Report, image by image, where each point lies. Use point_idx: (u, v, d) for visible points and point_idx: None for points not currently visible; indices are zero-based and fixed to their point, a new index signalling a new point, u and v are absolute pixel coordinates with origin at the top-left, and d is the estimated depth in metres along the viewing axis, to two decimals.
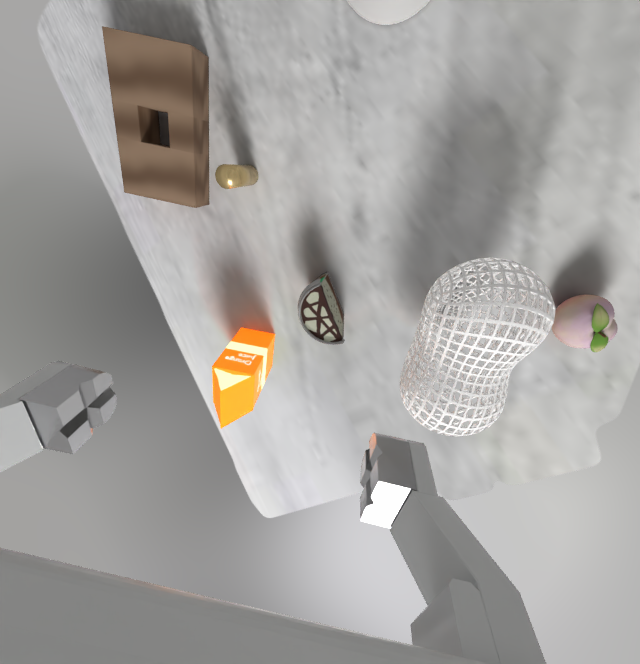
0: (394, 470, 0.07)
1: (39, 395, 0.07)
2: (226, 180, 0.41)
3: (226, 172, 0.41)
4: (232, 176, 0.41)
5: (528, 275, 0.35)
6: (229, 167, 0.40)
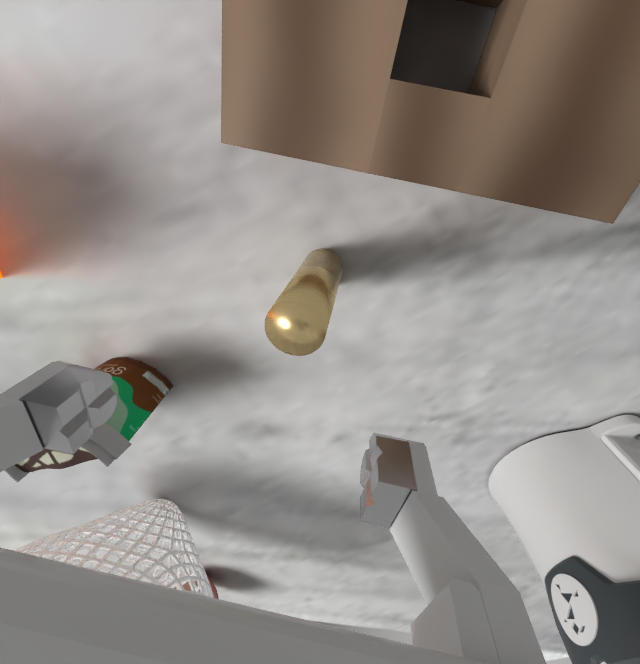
0: (394, 470, 0.07)
1: (39, 395, 0.07)
2: (285, 329, 0.14)
3: (305, 333, 0.14)
4: (297, 346, 0.15)
5: None
6: (318, 343, 0.14)
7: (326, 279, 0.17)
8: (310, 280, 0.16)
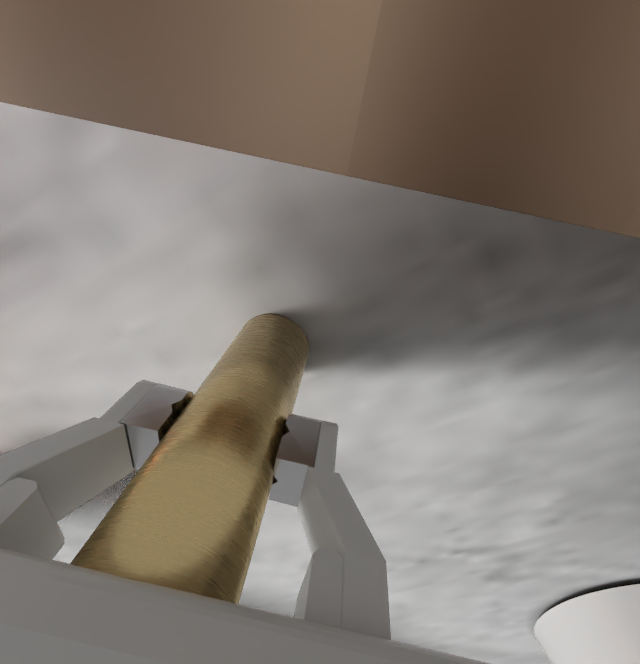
0: (296, 448, 0.07)
1: (137, 417, 0.07)
2: None
3: None
4: None
5: None
6: None
7: (249, 434, 0.07)
8: (190, 472, 0.06)
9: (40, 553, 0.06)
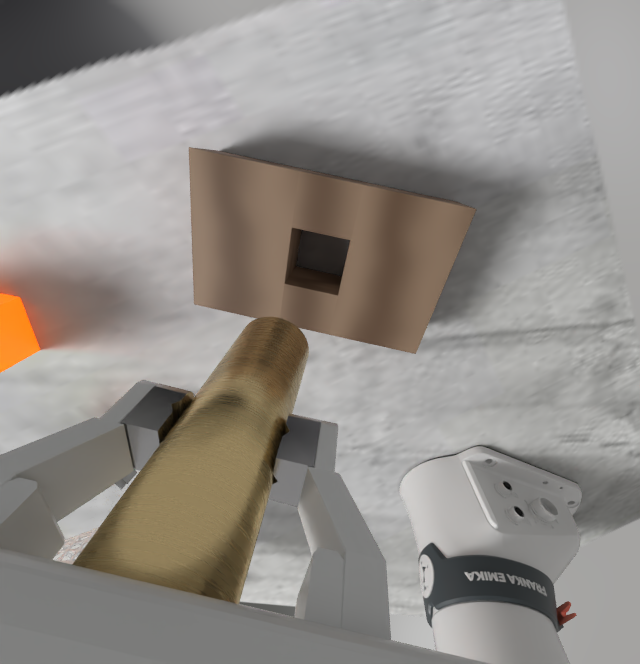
0: (296, 448, 0.07)
1: (137, 417, 0.07)
2: None
3: None
4: None
5: None
6: None
7: (250, 436, 0.07)
8: (191, 474, 0.06)
9: (40, 553, 0.06)
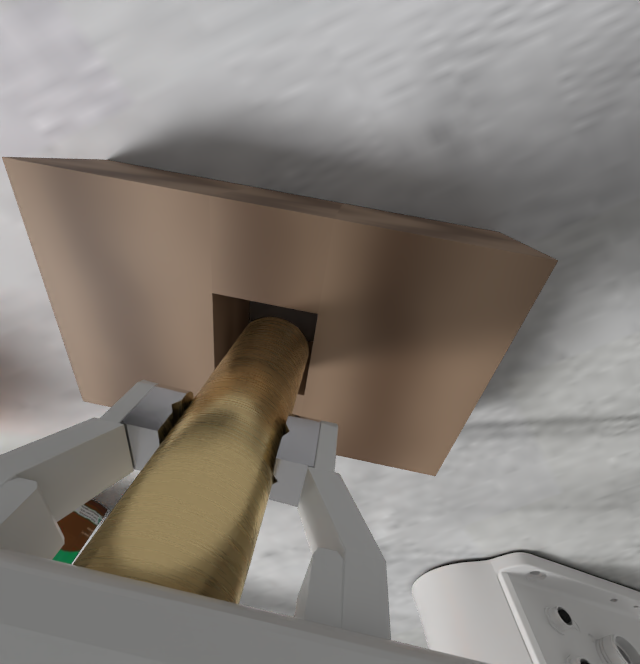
0: (296, 448, 0.07)
1: (137, 417, 0.07)
2: None
3: None
4: None
5: None
6: None
7: (250, 436, 0.07)
8: (192, 473, 0.06)
9: (40, 552, 0.06)
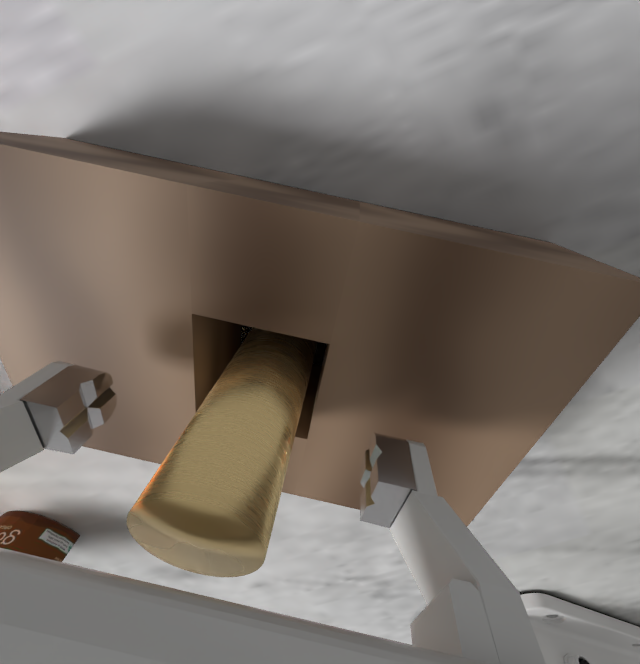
0: (394, 470, 0.07)
1: (39, 395, 0.07)
2: (176, 539, 0.06)
3: (221, 549, 0.06)
4: (208, 565, 0.07)
5: None
6: (251, 565, 0.06)
7: (283, 378, 0.09)
8: (246, 397, 0.08)
9: None
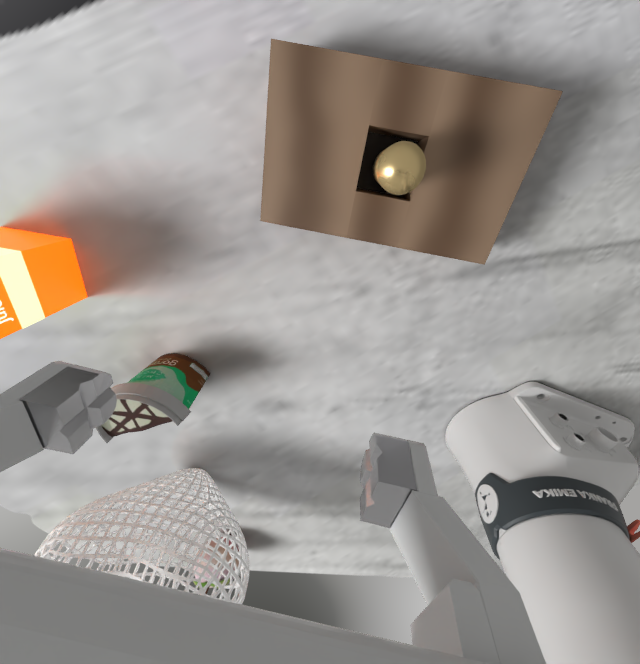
0: (394, 470, 0.07)
1: (39, 395, 0.07)
2: (394, 169, 0.19)
3: (409, 171, 0.19)
4: (401, 185, 0.19)
5: None
6: (418, 180, 0.19)
7: None
8: None
9: None
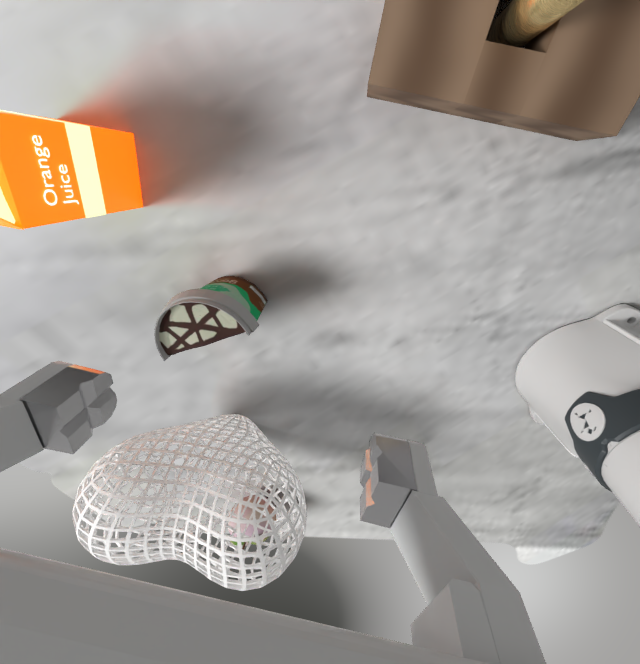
0: (394, 470, 0.07)
1: (39, 395, 0.07)
2: None
3: None
4: None
5: None
6: None
7: None
8: None
9: None
